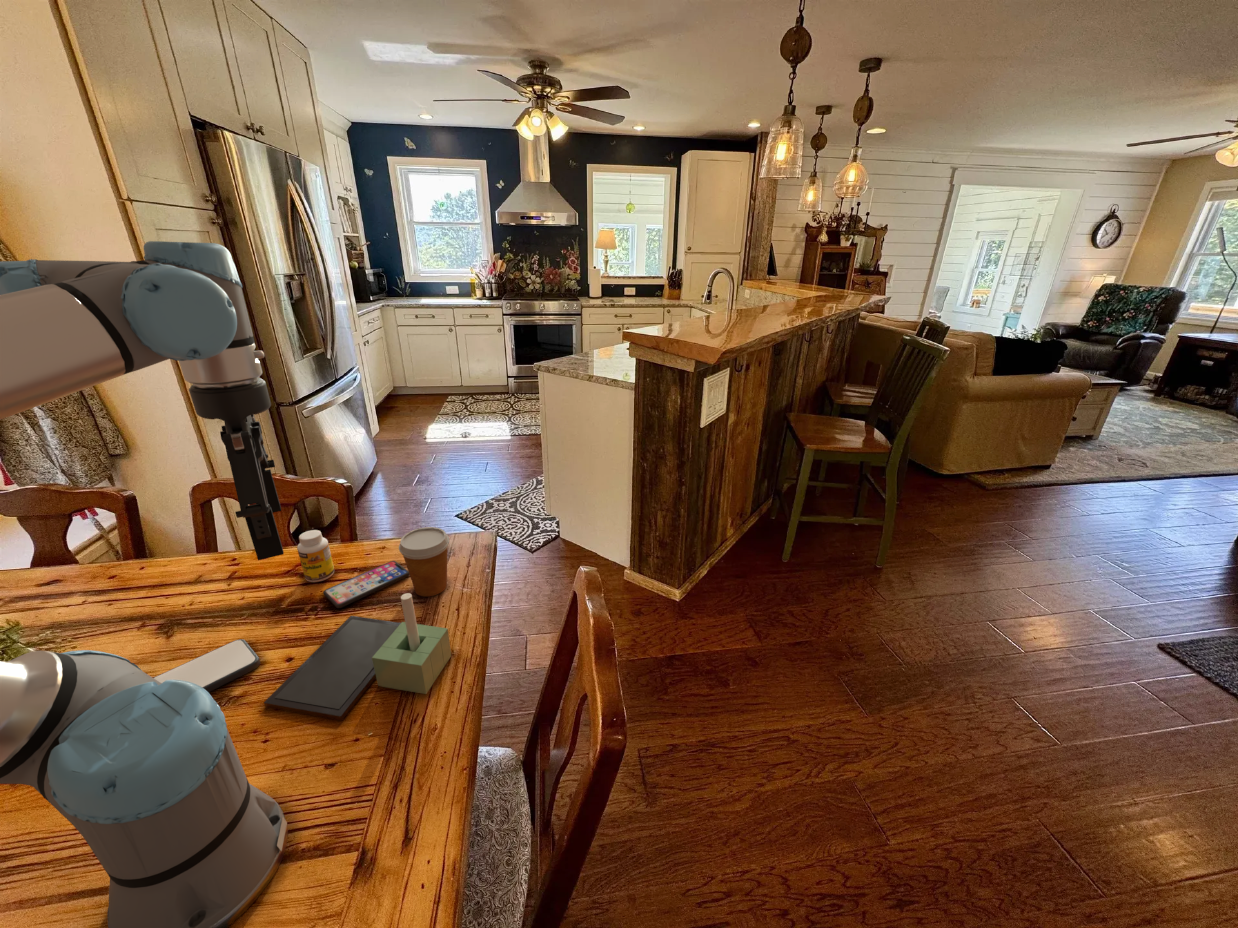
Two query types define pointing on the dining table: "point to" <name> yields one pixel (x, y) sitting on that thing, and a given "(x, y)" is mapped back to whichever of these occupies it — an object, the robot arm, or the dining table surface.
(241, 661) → the phone case
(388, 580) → the smartphone
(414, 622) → the stylus
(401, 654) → the pen stand
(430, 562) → the disposable coffee cup
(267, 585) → the dining table surface
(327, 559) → the supplement bottle
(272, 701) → the tablet
